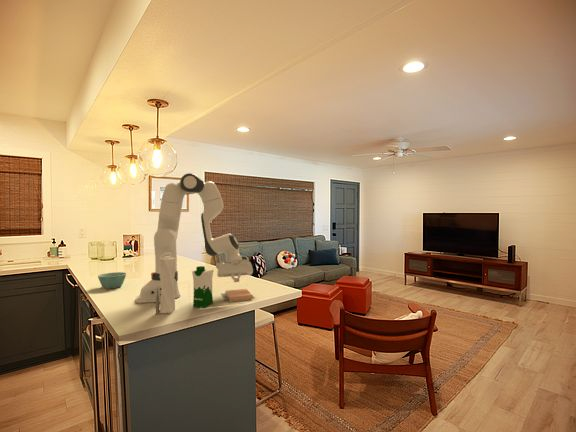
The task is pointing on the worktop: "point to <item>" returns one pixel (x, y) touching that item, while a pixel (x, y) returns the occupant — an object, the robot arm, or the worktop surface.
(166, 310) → the skyscraper
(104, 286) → the bowl
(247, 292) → the tile
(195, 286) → the milk carton
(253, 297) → the mat
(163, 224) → the robot arm
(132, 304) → the worktop surface
